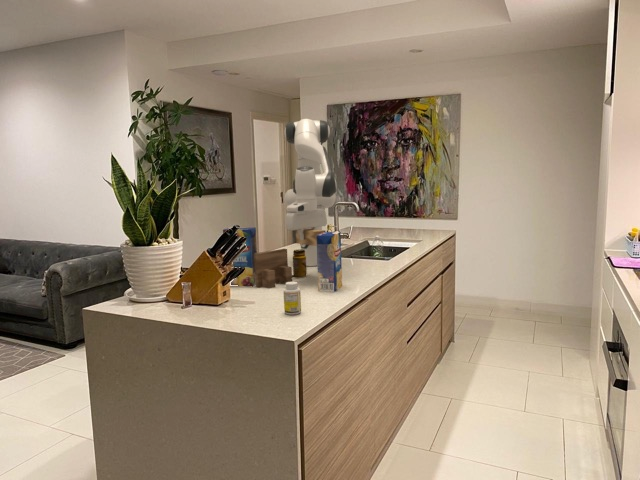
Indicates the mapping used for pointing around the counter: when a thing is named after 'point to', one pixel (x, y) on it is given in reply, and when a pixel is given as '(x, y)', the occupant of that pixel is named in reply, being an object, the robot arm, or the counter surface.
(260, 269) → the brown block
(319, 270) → the beverage box
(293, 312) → the supplement bottle
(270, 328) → the counter surface
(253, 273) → the juice carton
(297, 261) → the condiment
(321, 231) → the rail
